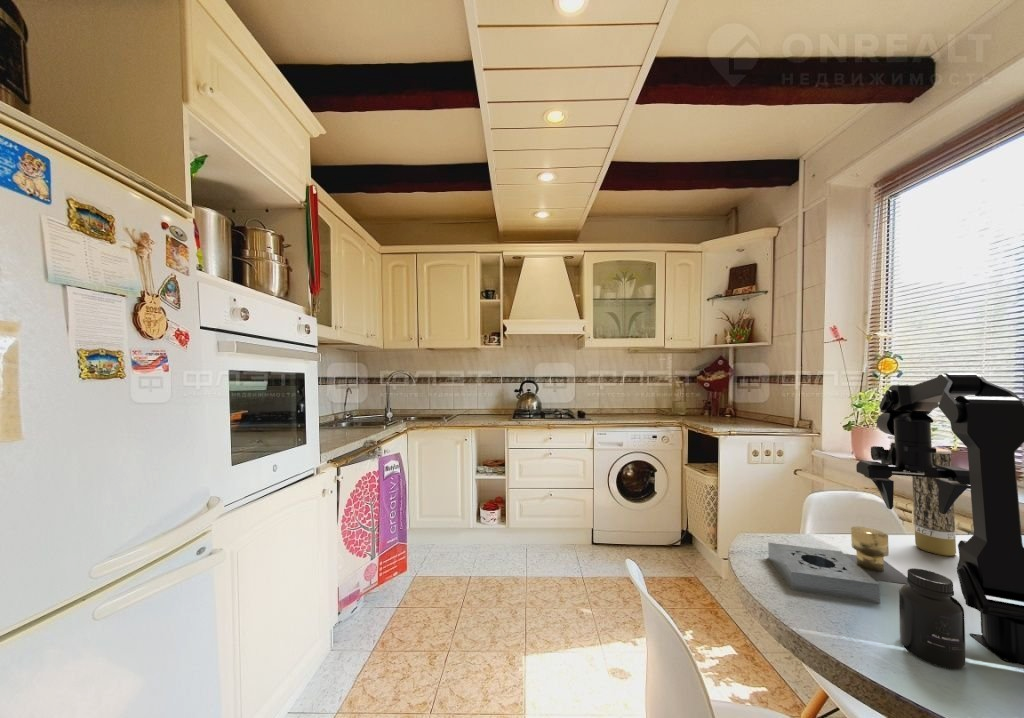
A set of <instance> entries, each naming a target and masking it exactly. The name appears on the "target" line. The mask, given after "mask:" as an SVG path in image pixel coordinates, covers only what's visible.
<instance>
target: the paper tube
mask: <svg viewBox="0 0 1024 718" xmlns="http://www.w3.org/2000/svg"><path fill="white" fill-rule="evenodd" d="M935 448H936V453H932V465H933V466H934V467H937V466H938V465H939V466H953V459H952V458H953V456H952V450H950V449H945V448H941V447H940V448H939V447H935ZM918 473H919V472H918ZM920 473H921V472H920ZM911 479H912V496H913V497H912V498H913V501H912V502H913V522H914V524H913V525H914V543H915V545H916V547H917V548H919V549H921V550H922V551H925V552H928V553H930V554H934V555H939V556H945V557H951V556H955V555H956V554H957V543H956V542H957V541H956V538H957V537H956V522H955V519H956V517H955V502H954V503H953V505H952V506H951V507H950V509H949V510H948V511H947V513H946V514H941V513H940V512H939V506H938V486H937V484H936V482H935V480H934V478H931V477H916V476H911ZM935 479H940V478H935Z"/></svg>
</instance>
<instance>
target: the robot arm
mask: <svg viewBox="0 0 1024 718" xmlns="http://www.w3.org/2000/svg"><path fill="white" fill-rule="evenodd" d="M878 407H879V409H880V410H879V411H880V413H881V414H880V415H879V416H878V417H877V419H876V420H875V421H876V427H877V428H878V429H879V430H880V431H881V432H882V433H885V434H887V435H891V436H893V437H894V442H891V444H890V449H886V448H885V447H883V446H877V445H876V446H875V445H873V446H870V457H871V459H872V461H871V460H859V461H858V462H857V463H856V465H855V467H856V473H858V474H861V475H863V476H864V477H865V478H867V479H869V480H871V481H872V482H873V483H874V485H875V487H876V488H877V490H878V492H879V493H880V496H881V498H882V501H884V502H883V503H884V504H885V507H886V508H887V509H888V510H893V509H894V508H893V507H894V492H895V491H894V488H895V487H894V485H895V481H894V480H893V479H892V480H891V479H890V478H892V477H893V476H902V477H903V476H905V477H912V476H916V477H931V478H934V480H935V482H936V484H937V486H938V506H939V512H940V513H941V514H946V513H947V511H948V510H949V509H950V507H951V506H952V505H953V503H954V504H955V502H956V501H957V499H959V497H960V496H961V495H962V494H963V493H964V492H965V491H966V490H970V499H971V512H972V514H971V515H972V525H973V528H972V529H973V535H972V536H971V537H970V538H969V539H968V540H960V541H959V542H958V544H957V548H958V554H959V557H958V562H957V566H956V572H957V576H958V579H959V580H958V581H959V585H960V590H961V593H962V596H963V599H964V600H965V606H967V607H969V608H972V609H975V610H977V611H978V612H979V614H980V630H981V632H980V633H981V634H977V633H973V632H972V633H971V632H970V633H969V636H970V637H971V638H973V639H974V640H975V641H977V642H978V643H979V644H981V645H982V646H983V647H984V648H986V650H988V651H990V652H991V653H992V654H994V655H995V656H996V657H997V658H999V659H1000V660H1001V661H1003V662H1006V663H1010V664H1015V665H1020V666H1024V605H1022V604H1019V603H1018V604H1016V603H1012V602H1011V603H1010V602H1006V601H999V600H997V599H989V598H987V597H991V598H992V597H993V598H999V599H1003V600H1007V601H1008V600H1010V601H1015V602H1020V603H1024V545H1023V536H1022V535H1023V534H1022V524H1021V514H1020V513H1021V512H1020V503H1019V502H1020V501H1019V489H1018V478H1017V477H1018V476H1017V467H1016V465H1017V464H1016V456H1015V455H1016V454H1015V453H1016V451H1017V450H1019V448H1020V447H1021V446H1022V445H1023V444H1024V400H1022V399H1021V398H1020V397H1019V396H1018V395H1017V394H1016V393H1014V392H1013V391H1011V390H1009V389H1008V388H1007V389H1006V388H1004V387H1003V386H999V385H996V384H994V383H991V382H989V381H987V379H985V378H984V377H983V376H982V375H980V374H976V373H974V372H972V373H969V372H965V373H963V372H955V373H954V372H953V373H952V372H951V373H950V372H947V373H946V372H945V373H943V374H939V375H937V377H934V378H931V379H929V380H925V381H922V382H920V383H916V384H914V385H913V384H912V385H911V384H909V385H908V384H906V385H905V384H904V385H902V384H892V385H891V386H889V388H888V389H886V391H885V393H884V395H883V397H882V399H881V401H880V404H879V405H878ZM937 408H939V410H940V411H941V412H942V413H943V415H944V416H945V417H946V419H947V420H948V421H949V422H950V428H951V432H952V433H953V434H954V435H955V436H956V437H957V438H958V440H959V441H960V442H961V443H962V444H963V445H964V446H965V447H966V448H967V449H966V450H967V459H968V469H967V468H963V467H960V466H955V465H954V466H953V465H952V466H939V465H938V466H937V467H934V466H933V465H932V453H936V448H937V447H932V444H933V443H932V426H931V424H932V423H934V419H933V418H932V417H931V416H930V414H931V412H932V411H933V410H935V409H937ZM918 472H919V473H918ZM920 472H921V473H920ZM935 478H940V479H935Z"/></svg>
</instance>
